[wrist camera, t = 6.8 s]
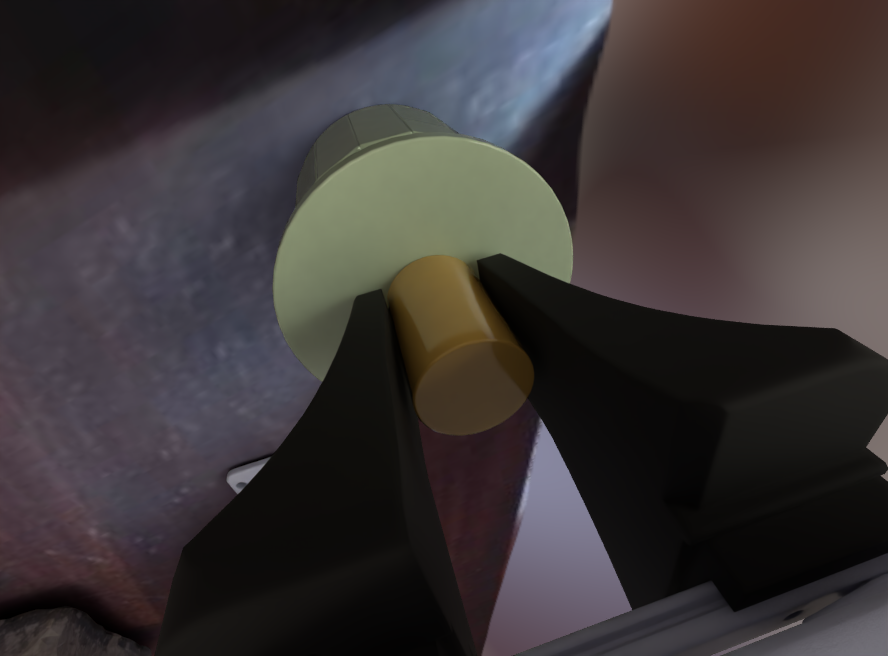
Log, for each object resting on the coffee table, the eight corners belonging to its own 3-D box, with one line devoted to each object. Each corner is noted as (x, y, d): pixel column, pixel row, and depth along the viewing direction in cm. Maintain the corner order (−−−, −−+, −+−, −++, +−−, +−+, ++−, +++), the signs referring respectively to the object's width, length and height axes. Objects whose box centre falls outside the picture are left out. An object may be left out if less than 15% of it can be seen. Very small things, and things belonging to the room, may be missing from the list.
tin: (488, 257, 19) (533, 317, 15) (335, 303, 19) (341, 377, 15) (463, 81, 15) (516, 103, 11) (264, 133, 15) (247, 174, 11)
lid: (558, 341, 14) (642, 450, 11) (335, 412, 14) (345, 552, 10) (549, 87, 10) (688, 128, 6) (215, 176, 9) (153, 279, 6)
